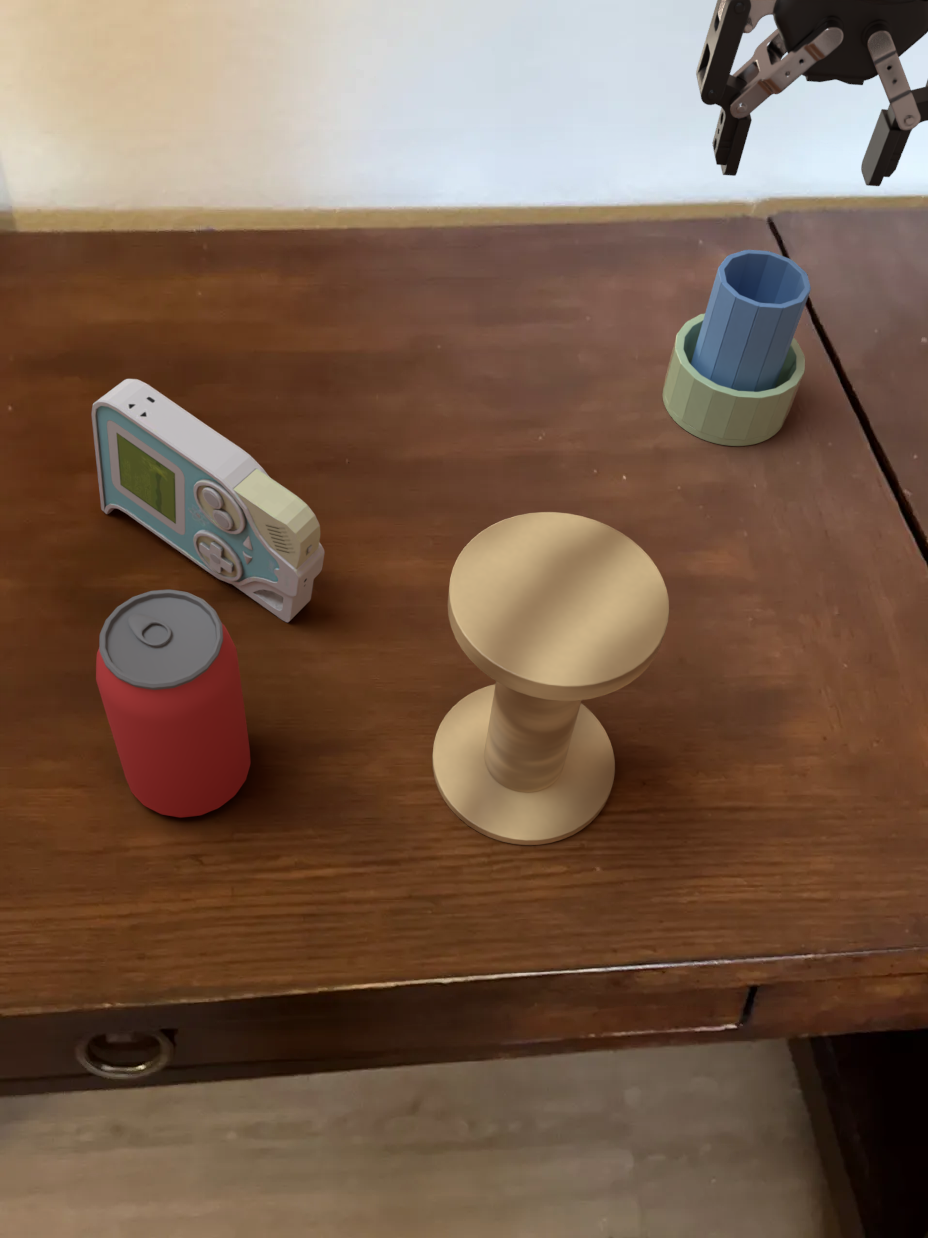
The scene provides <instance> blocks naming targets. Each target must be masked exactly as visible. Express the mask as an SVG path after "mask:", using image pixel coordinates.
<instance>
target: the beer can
mask: <svg viewBox="0 0 928 1238" xmlns="http://www.w3.org/2000/svg"><path fill="white" fill-rule="evenodd" d="M98 644H99V647H98V650H97V652H96V662H95V682H96V684H97V688H98V691H99V694H100V697H101V701H102V704H103V708H104V711H105V715H106V718H107V721H108V724H109V727H110V731H111V734H112V738H113V740H114V744H115V747H116V751H117V754H118V757H119V761H120V764H121V768H122V771H123V774H124V778H125V781H126V783H127V784H128V788H129V790H130V792H131V794H132V795H133V796H134V797H135V798H136V799H137V801H139V802H140V803H141V804H142V805H143V806H144V807H146V808H148V809H150V810H152V811H153V812H156V813H158V814H159V815H163V816H168V817H169V816H170V817H175V818H180V819H181V818H191V817H197V816H199V817H200V816H203V815H205V814H207V813H210V812H213V811H215V810H218V809H219V808H221V807H222V806H224V805H225V804H227V803H228V802H229V801H230V800H232V799H233V798H234V797H235V796H236V795H237V793H238V792H239V791H240V789H241V788H242V787H243V785H244V784H245V782H246V781H247V779H248V774H249V771H250V767H251V764H252V763H251V749H250V748H251V747H250V739H249V731H248V725H247V718H246V710H245V703H244V696H243V695H244V694H243V687H242V680H241V673H240V665H239V657H238V651H237V646H236V645H235V642H234V641H233V639H232V637H231V635H230V633H229V631H228V629H227V627H226V625H225V624H224V623H223V622H222V621H221V619H220V617H219V614H218V612H217V611H216V609H214V608H213V606H211V605H210V604H209V603H208V602H207V601H206V600H205V599H204V598H202V597H200V596H196V595H194V594H192V593H190V592H188V591H182V590H176V589H157V590H150V591H147V592H144V593H140V594H138V595H134V596H132V597H131V598H129V599H127V600H125V601H124V602H123V603H121V604H120V605H117V606H116V607H115V609H114V610H113V611H112V612H111V613H110V615H109V616H107V618H106V619H105V621H104V623H103V626H102V628H101V630H100V633H99V643H98Z"/></svg>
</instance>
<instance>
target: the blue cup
mask: <svg viewBox="0 0 928 1238" xmlns="http://www.w3.org/2000/svg"><path fill="white" fill-rule="evenodd" d="M809 279H810V278H809V275H808V274H807V272H806V271H805V270H804V269H803V268H802V267H800V265H798V264H797V263H796V262H795V261H794V259H791V258H788V257H787V256H784V255H781V254H778V253H776V252H773V251H771V250H770V251H769V250H759V249H743V250H741V251H737V252H735V253H731V254H728V255H727V256H726V257H725V258H724V260H723V261H722V262H721V263H720V265H719V266H718V268H717V271H716V275H715V278H714V281H713V285H712V288H711V291H710V292H711V293H710V295H709V299H708V302H707V306H706V309H705V312H704V313H705V316H704V319H703V323H702V326H701V330H700V333H699V337H698V340H697V344H696V347H695V351H694V354H693V358H692V361H691V365H692V366H693V367H694V368H695V369H696V370H697V371H698V372H699V373H700V375H702V376H704V377H705V378H707V379H709V380H711V381H712V382H714V383H716V384H717V385H720V386H724V387H727V388H731V389H734V390H737V391H751V392H760V391H765V390H770V389H775V386H776V383H777V381H778V378H779V375H780V372H781V370H782V367H783V364H784V361H785V359H786V356H787V353H788V350H789V348H790V345H791V342H792V339H793V338H795V334H796V331H797V330H798V329H797V328H798V327H799V326H798V325H799V323H800V320H801V317H802V315H803V312H804V309H805V306H806V303H807V302H808V298H809V295H810V293H811V290H812V289H811V287H812V286H811V284H810V280H809Z"/></svg>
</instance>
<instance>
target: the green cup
mask: <svg viewBox="0 0 928 1238" xmlns="http://www.w3.org/2000/svg"><path fill="white" fill-rule="evenodd" d="M704 316H705V312H704V313H700V314H698V315H696V316H694V317H693V318H690V319H689V320H687V321H685V323H684V324H683V325H682V327H680V329H679V331H678V332H677V333H676V335H675V339H674V343H673V347H672V350H671V354H670V357H669V361H668V365H667V369H666V372H665V376H664V383H663V387H662V391H661V392H662V400H663V405H664V408H665V410H666V411H667V413H668V414H669V416H670V417H671V418H672V420H673V421H674V422H675V423H676V424H677V425H678V426H679V427H681V428H682V429H683V430H685V431H686V432H687V433H689V434H691V435H692V436H694V437H696V438H699V439H701V440H703V441H705V442H709V443H712V444H715V445H721V446H729V447H744V446H746V447H747V446H752V445H757V444H760V443H762V442H765V441H767V440H769V439H770V438H773V436H775V435H776V434H777V433H778V432H780V430H781V429H782V427H783V426H784V424H785V422H786V419H787V417H788V416H789V413H790V411H791V408H792V406H793V403H794V400H795V398H796V395H797V392H798V390H799V388H800V385H801V383H802V379H803V377H804V374H805V369H806V357H805V354H804V352H803V350H802V348H801V346H800V344H799V341H798V340H797V339H796V338H795V337H793V339H792V342H791V345H790V348H789V350H788V353H787V356H786V359H785V361H784V364H783V367H782V370H781V372H780V375H779V378H778V381H777V383H776V386H775V389H770V390H765V391H760V392H751V391H737V390H734V389H731V388H727V387H724V386H720V385H717V384H716V383H714V382H712V381H711V380H709V379H707V378H705V377H704V376H702V375H700V373H699V372H698V371H697V370H696V369H695V368H694V367H693V366H692V365H691V361H692V358H693V354H694V351H695V347H696V344H697V340H698V337H699V333H700V330H701V326H702V323H703V319H704Z"/></svg>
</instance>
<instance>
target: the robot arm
mask: <svg viewBox="0 0 928 1238" xmlns="http://www.w3.org/2000/svg"><path fill="white" fill-rule="evenodd" d="M770 15H771V16H773V21H774V24H775V26H776V29H775V30H774V31H773V32H772V33H770V34H769V35H768V36H767V37H766V38H765V39H764V40H762V42H761V43H759V45H758V46H757V47H756V48H755V50H754V52H753V55H752V57H750V59H748V61H746V62H745V63H744V64H743V65H741V66H740V67H739V68H738V69H737V70H736V71H735V72H734V73H733V74H731V72H732V69H733V66H734V62H735V59H736V56H737V53H738V50H739V48H740V45H741V41H742V38H743V35H744V34H750V33H752V31H754V29H756V27H757V25H758V24H759V22H760V21H761V20H762V19H763V18H764V17H766V16H770ZM927 33H928V0H716V4H715V7H714V10H713V14H712V18H711V20H710V24H709V27H708V30H707V34H706V37H705V41H704V44H703V47H702V50H701V54H700V57H699V60H698V64H697V67H696V70H695V75H696V80H697V86H698V90H699V95H700V100H701V102H702V103H703V104H705V105H707V106H714V105H716V106H719V107H721V108H720V112H719V116H718V119H717V124H716V127H715V131H714V135H713V138H712V142H711V143H712V150H713V154H714V159H715V163H716V166H720V169H721V174H722V176H731V177H735V176H736V175H737V173H738V170H739V167H740V163H741V160H742V157H743V153H744V149H745V145H746V142H747V138H748V134H749V131H750V128H751V124H752V122H753V121H752V120H753V119H752V116H751V113H753V112H754V111H755V110H756V109H757V108H758V107H759V106H761V105H762V104H763V103H764V102H766V100H768V98H770V97H771V96H773V95H780V94H781V93H783V92H784V91H785V90H786V89H787V88H788V87H789V86H791V85H792V84H793V83H794V82H795V81H796V80H797V79H799V78H800V77H801V76H803V77H805V80H806V82H811V83H812V82H814V83H824V82H825V83H826V82H829V81H839V82H841V83H844V84H847V85H851V86H852V85H854V86H864V84H865V82H866V81H869V80H872V79H873V78H876V77H877V76H878V78H879V80H880V82H881V85H882V88H883V91H884V93H885V95H886V98H887V100H888V103H889V105H888V106H887V107H888V108H887V109H885V108H881V110H880V112H879V115H878V118H877V121H876V123H875V126H874V129H873V131H872V134H871V137H870V140H869V141H868V144H867V147H866V150H865V153H864V155H863V158H862V162H861V167H860V168H861V169H860V170H861V171H860V172H861V174H862V177H863V180H864V183H865V186H869V187H880V186H881V185H882V183H883V180H884V178H890V177H891V176H892V175H893V174H894V173H895V172H896V170H897V168H898V166H899V163H900V160H901V158H902V155H903V152H904V150H905V149H906V148H905V147H906V146H907V143H908V140H909V137H910V136H911V133H912V131H913V129H915V128H916V127H917V126H919V124H921V123H923V122H926V121H927V122H928V79H927V80H926V83H925V86H923V87H918V88H915V89H911V85H910V83H909V80H908V78H907V76H906V73H905V70H904V67H903V65H902V63H901V60H900V57H901V56H903V54H905V53H906V52H907V51H908V50H909V49H911V48H912V47H913V46H914V45H915V44H916V43H918V41H920V40H921V39H922V38H923V37H925V35H926V34H927Z"/></svg>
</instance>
